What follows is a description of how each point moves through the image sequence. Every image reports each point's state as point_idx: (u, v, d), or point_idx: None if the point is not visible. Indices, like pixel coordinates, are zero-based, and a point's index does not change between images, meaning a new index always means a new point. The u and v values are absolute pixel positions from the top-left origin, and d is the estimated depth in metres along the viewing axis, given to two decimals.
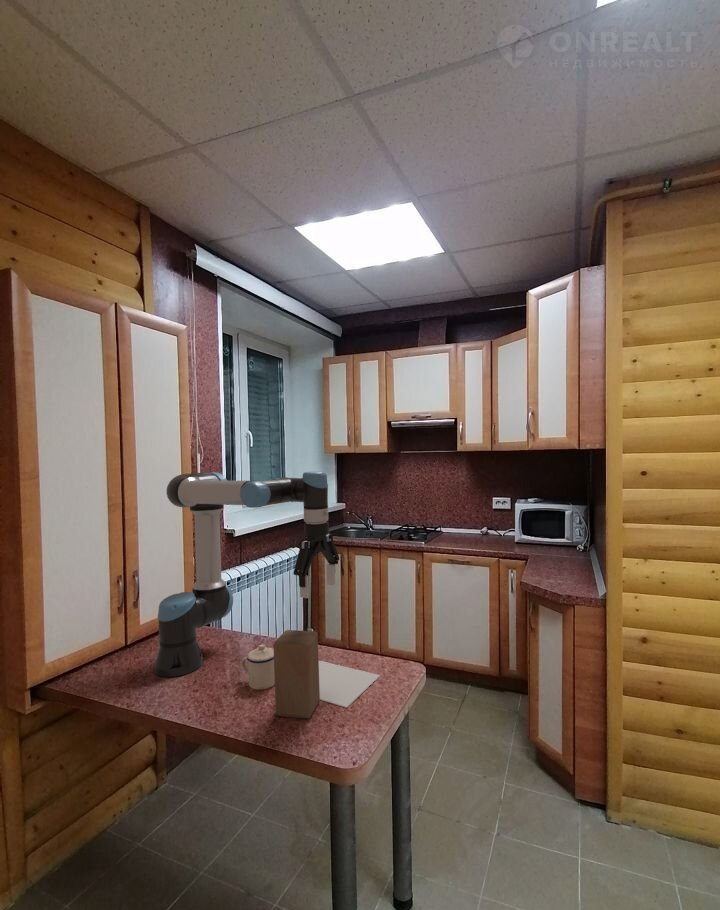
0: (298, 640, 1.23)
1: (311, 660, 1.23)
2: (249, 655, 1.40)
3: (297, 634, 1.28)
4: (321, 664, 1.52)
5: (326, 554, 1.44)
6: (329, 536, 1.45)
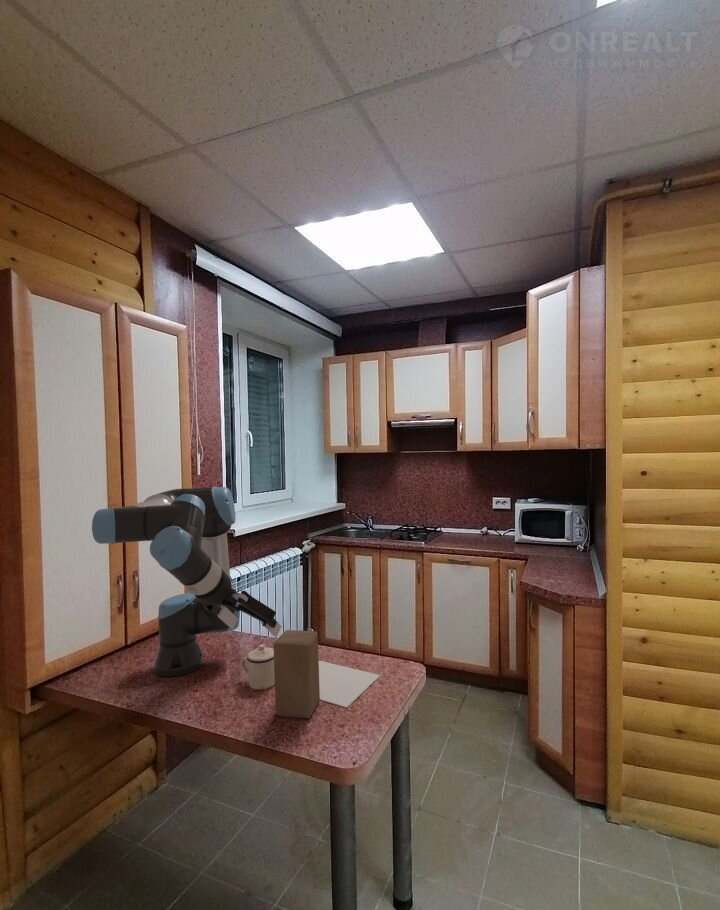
0: (298, 640, 1.24)
1: (311, 660, 1.23)
2: (249, 655, 1.40)
3: (297, 634, 1.28)
4: (321, 664, 1.52)
5: None
6: None
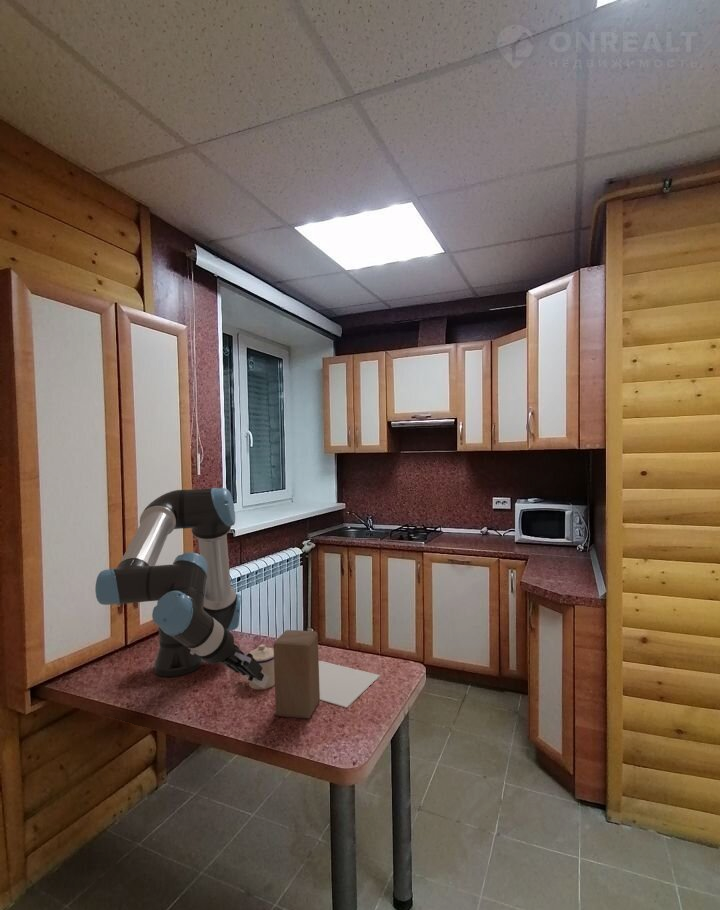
0: (298, 640, 1.24)
1: (311, 660, 1.23)
2: None
3: (297, 634, 1.28)
4: (321, 664, 1.52)
5: None
6: (243, 662, 1.02)
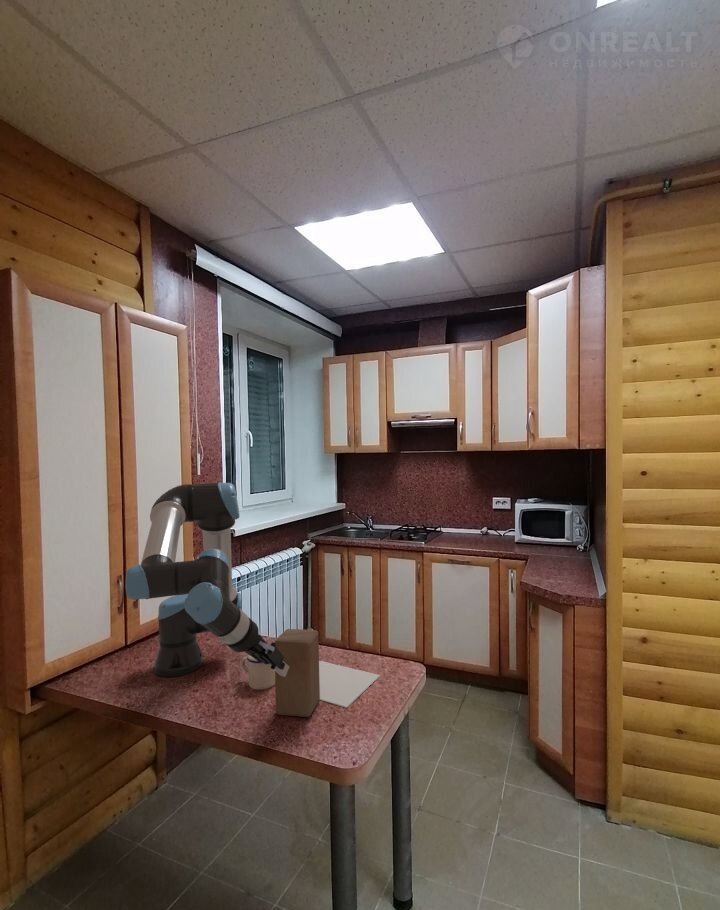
0: (298, 638, 1.24)
1: (311, 658, 1.23)
2: (249, 655, 1.40)
3: (298, 632, 1.29)
4: (321, 664, 1.52)
5: None
6: (267, 650, 1.08)
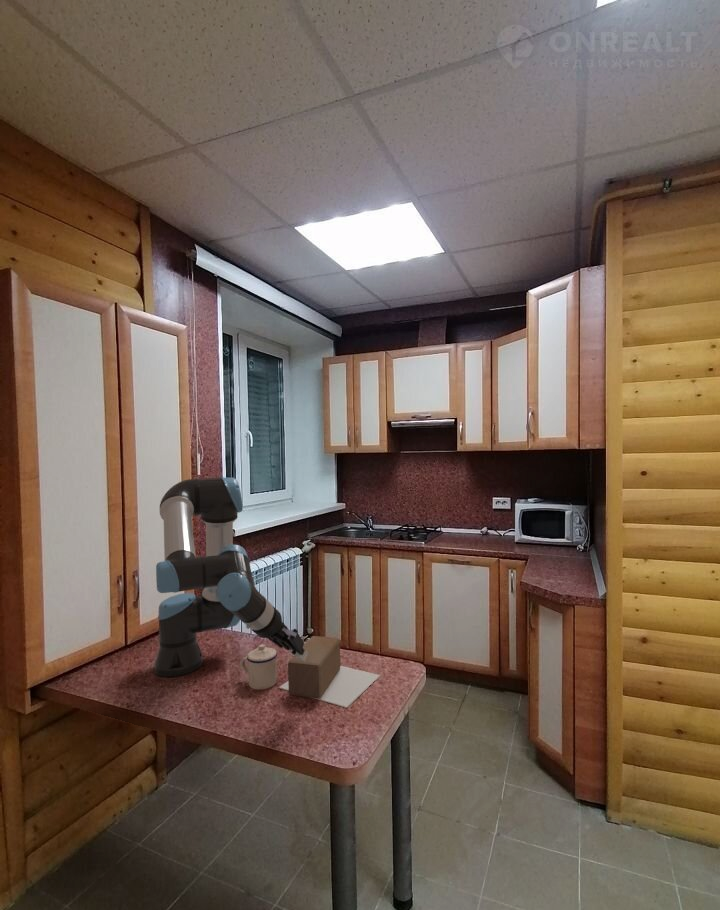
0: None
1: (335, 651, 1.44)
2: (249, 655, 1.40)
3: None
4: None
5: None
6: (290, 636, 1.16)
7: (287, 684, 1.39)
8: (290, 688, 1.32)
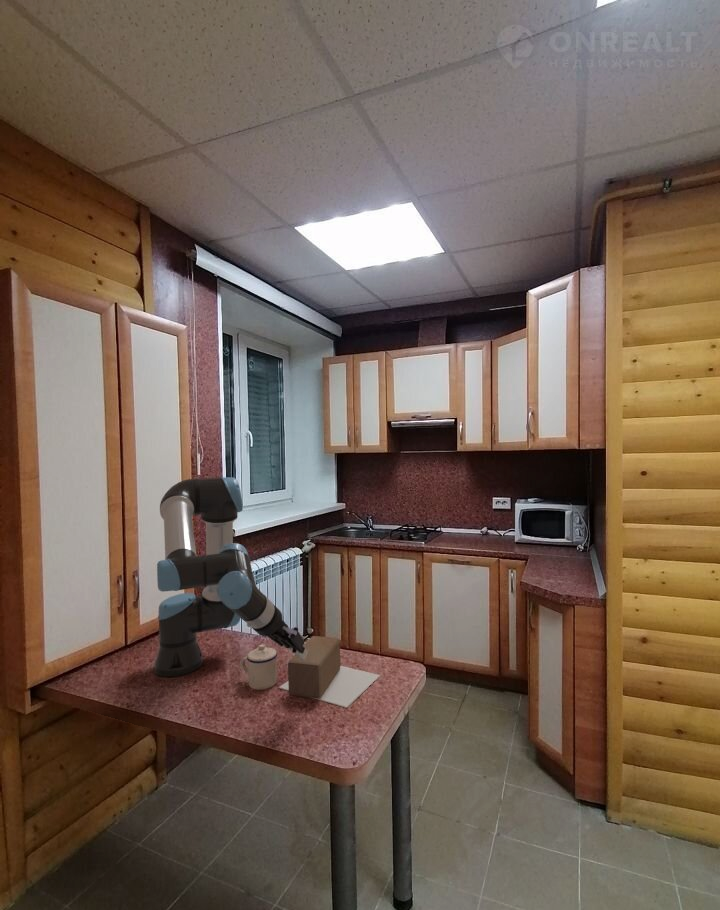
0: None
1: (335, 651, 1.44)
2: (249, 655, 1.40)
3: None
4: None
5: None
6: (290, 634, 1.16)
7: (287, 684, 1.39)
8: (290, 688, 1.32)
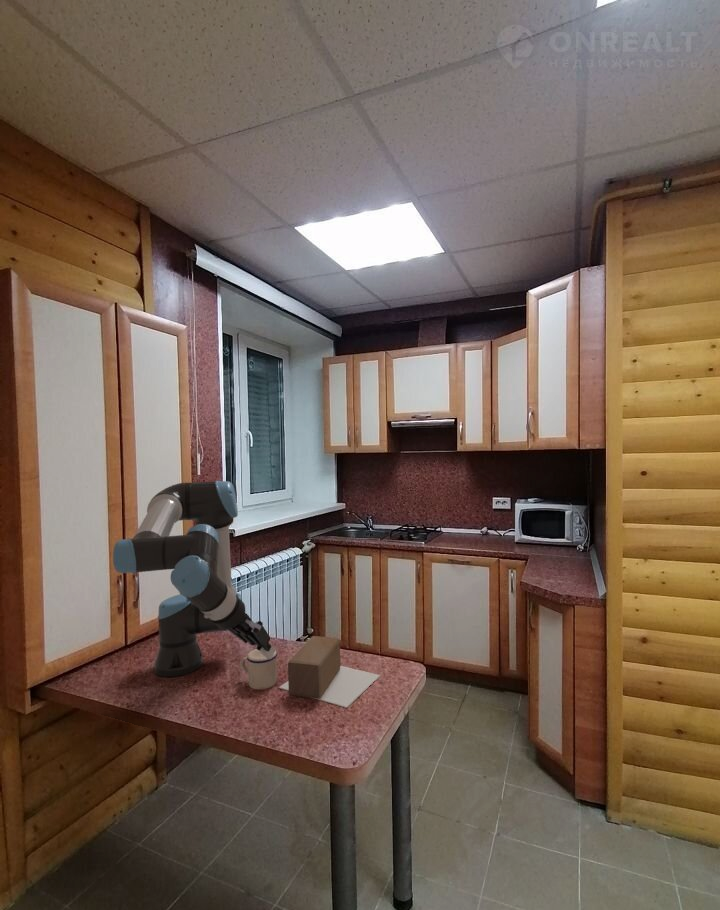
0: None
1: (335, 651, 1.44)
2: (249, 655, 1.40)
3: None
4: None
5: None
6: (254, 629, 1.06)
7: (287, 684, 1.39)
8: (290, 688, 1.32)
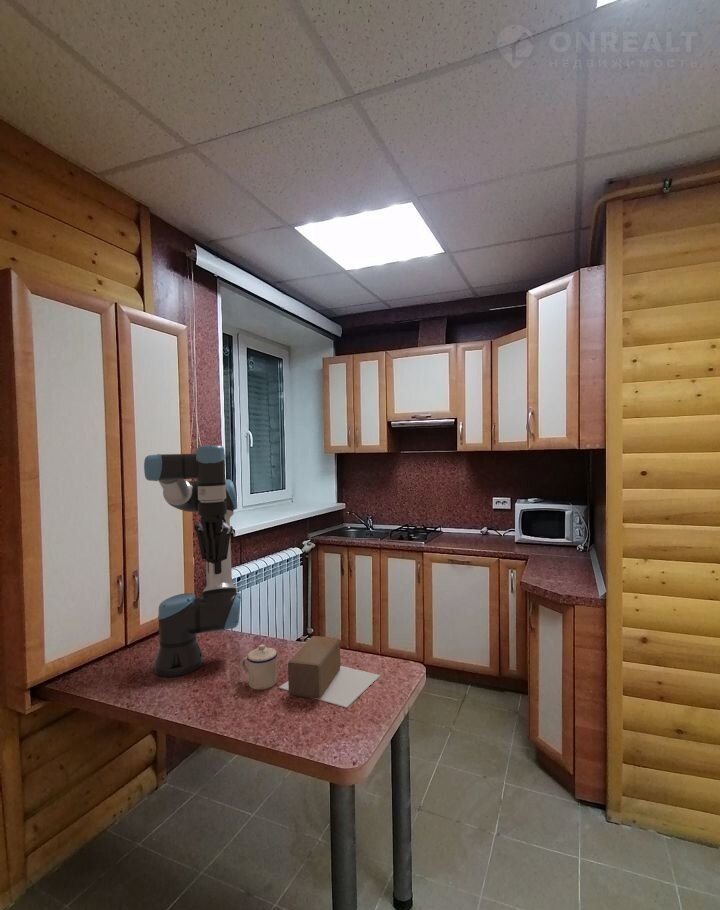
0: None
1: (335, 651, 1.44)
2: (249, 655, 1.40)
3: None
4: None
5: None
6: None
7: (287, 684, 1.39)
8: (290, 688, 1.32)
